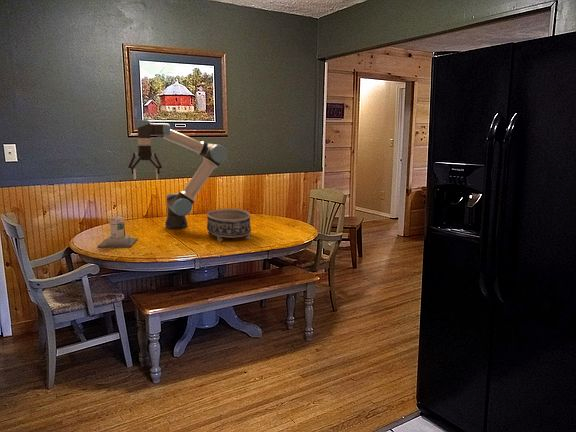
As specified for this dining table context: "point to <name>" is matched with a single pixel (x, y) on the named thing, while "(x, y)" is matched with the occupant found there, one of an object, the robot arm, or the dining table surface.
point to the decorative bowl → (229, 223)
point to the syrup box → (117, 227)
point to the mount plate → (118, 242)
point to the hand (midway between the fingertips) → (146, 179)
